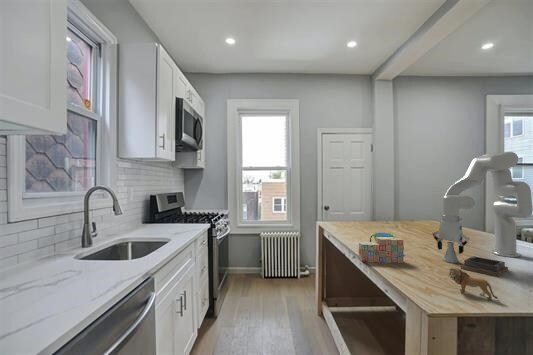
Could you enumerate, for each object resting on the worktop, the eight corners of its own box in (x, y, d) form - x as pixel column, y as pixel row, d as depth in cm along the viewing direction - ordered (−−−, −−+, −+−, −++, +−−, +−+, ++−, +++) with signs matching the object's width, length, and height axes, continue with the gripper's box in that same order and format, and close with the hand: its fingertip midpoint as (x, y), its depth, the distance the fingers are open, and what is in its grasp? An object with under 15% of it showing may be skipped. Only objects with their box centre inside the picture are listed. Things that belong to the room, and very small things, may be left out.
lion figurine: (448, 291, 106) (448, 268, 106) (449, 287, 110) (449, 265, 110) (498, 302, 96) (498, 276, 96) (497, 297, 100) (497, 272, 100)
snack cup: (367, 250, 168) (367, 233, 168) (373, 247, 176) (373, 231, 176) (394, 255, 158) (394, 237, 158) (399, 251, 166) (399, 234, 166)
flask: (457, 260, 147) (457, 241, 147) (460, 264, 141) (460, 244, 141) (441, 258, 150) (441, 240, 150) (443, 262, 144) (443, 243, 144)
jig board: (473, 263, 142) (472, 255, 143) (508, 270, 131) (507, 261, 131) (460, 268, 133) (460, 260, 133) (497, 276, 122) (497, 267, 122)
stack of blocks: (361, 262, 144) (361, 238, 144) (358, 258, 150) (358, 236, 150) (403, 263, 142) (403, 239, 142) (399, 259, 148) (398, 237, 149)
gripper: (472, 220, 141) (472, 254, 141) (435, 216, 155) (435, 247, 155) (466, 221, 136) (466, 256, 136) (429, 217, 150) (429, 248, 150)
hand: (450, 251), depth 145 cm, fingers open, 9 cm apart
